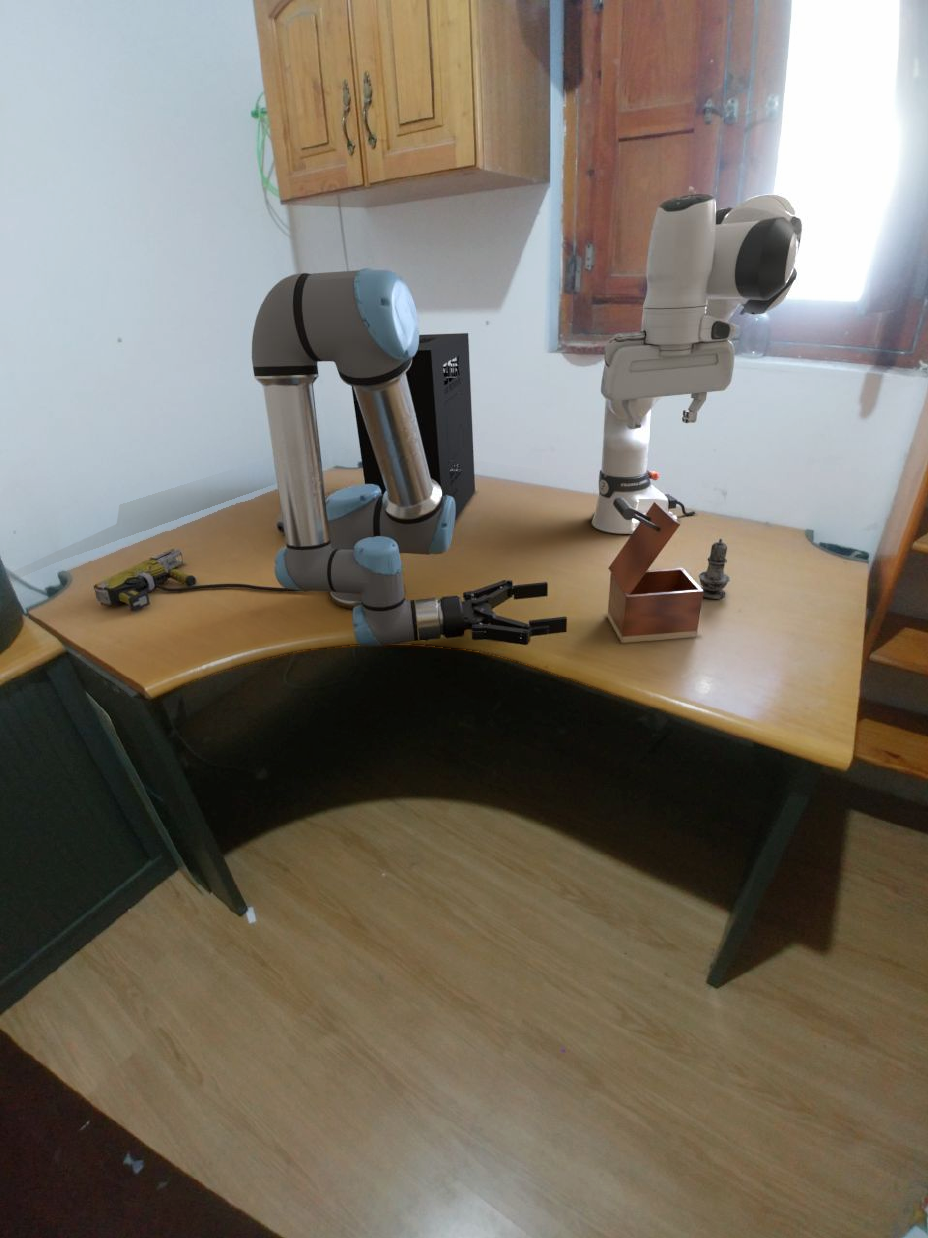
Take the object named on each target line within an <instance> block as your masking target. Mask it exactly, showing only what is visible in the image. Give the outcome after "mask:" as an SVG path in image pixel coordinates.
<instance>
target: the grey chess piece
mask: <svg viewBox="0 0 928 1238" xmlns="http://www.w3.org/2000/svg"><path fill="white" fill-rule="evenodd" d="M727 551H728V545H727V543H724V542H723V538H719V539H718V541H716V542H714V543H713V544H712V545H711V549H710V555H709V556H708V557H707V561H708V564H707V569H706V571H702V572H700V573H699V574H698V578H699V583H700V585H701V586H700V587H701V588H702V590H703V591H704V594H703V598H706V599H711V600H717V599H722V598H724V597H725V596H726V591H724V589H725V588H726V586H727V585H728V583H729V582H730V580H731V578H730V576H729V575H728V574H726V573H725V565H726V564H727V562H728V559H726V557H727Z"/></svg>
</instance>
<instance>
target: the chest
mask: <svg viewBox="0 0 928 1238" xmlns="http://www.w3.org/2000/svg"><path fill="white" fill-rule="evenodd" d="M701 587H702V586H700V585H699V584H698V583H697V582H696V580H695V579H693V577H692V576H691V575H690V573H688V571H687V570H685V568H684V567H676V568H675V567H674V568H663V569H661V568H660V569H648V570H647V571H646V573H645V574H644V576H643V577H642V578H641V580H640V581H639V582H638V584H637V585H636V587H635V588H634V589H633V591H632V592H631V593H630V595H629V594H627V593H625V592H623V590H622V589H621V587H620V586H619V584H618V582H617V581H616V579H615V578H614V576H613V575H612V573H611V572H610V580H609V591H608V602H607V613H606V617H607V619H608V621H609V622H610V624H611V626H612V628H613V630H614V632H615V634H616V635H617V637H618V639H619V641H620V642H621V644H624V643H625V644H627V643H637V642H649V641H651V642H652V641H664V640H676V639H689V638H697V636H698V629H699V623H700V618H701V611H702V607H703V606H702V604H703V599H704V597H703V594H704V591H703V590H702V588H701Z"/></svg>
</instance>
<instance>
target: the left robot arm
mask: <svg viewBox="0 0 928 1238" xmlns="http://www.w3.org/2000/svg"><path fill="white" fill-rule="evenodd" d="M418 324H419V318H418V313H417V308H416V305H415V301H414V298H413V296H412V293H411V290H410V289H409V287H408V285H407V283H406V282H405V281H404V279H403V278H402V277H401V276H400V275H398V274H397V273H396V272H395V271H392V270H389V269H372V268H368V267H367V268H365V267H364V268H361V269H357V270H343V271H329V272H313V273H308V272H302V273H300V272H299V273H294V274H291V275H288V276H286V277H284V278H282V279H281V280H279V281H278V282H277V283H276V284H274V286H272V288H271V289H270V290H269V291H268V293H267V294H266V295H265V297H264V299H263V300H262V302H261V304H260V306H259V310H258V312H257V314H256V318H255V321H254V326H253V330H252V338H251V363H252V370H253V371H252V372H253V376H254V379H255V380H256V381H257V382H258V383H259V384H260V385H261V386H262V391H263V397H264V404H265V409H266V411H265V412H266V418H267V424H268V430H269V431H268V432H269V438H270V444H271V451H272V458H273V463H274V470H275V477H276V483H277V490H278V491H277V492H278V497H279V504H280V510H281V511H280V512H281V514H282V518H283V525H284V532H285V534H284V538H285V545H286V546H284V547H282V548H281V549H279V550H278V552H277V553H276V556H275V559H274V563H275V566H274V567H273V568H274V571H273V572H274V576H275V578H276V581H277V583H278V584H279V585H280V586H281V587H275V586H273V587H272V586H260V585H253V584H245V583H215V584H199V585H193V586H185V587H166V586H164V585H161V584H154V585H155V587H154V589H160V590H161V591H164V592H170V593H172V592H173V593H176V592H177V593H179V592H186V591H187V592H188V591H194V590H204V589H205V590H206V589H218V588H245V589H251V590H257V591H258V590H259V591H267V592H268V591H271V592H323V593H324V592H325V593H326V592H327V593H328V592H329V594H330V599H331V601H332V602H333V604H334V605H337V606H339V607H342V608H346V609H351V610H352V625H353V632H354V638H355V641H356V643H357V644H358V645H359V646H361V647H378V646H379V647H384V646H388V645H396V644H404V643H412V642H421V641H422V642H423V641H426V642H428V641H432V640H440V639H441V638H442V636H443V637H444V638H446V639H452V638H453V639H454V638H462V637H464V636H465V632H466V631H468V630H469V631H471V639H472V640H474V641H492V642H500V643H506V644H507V643H508V644H514V645H519V646H520V645H521V646H528V645H529V643H530V642H531V637H537V636H545V635H546V636H547V635H551V634H560V633H561V634H563V633H567V631H568V630H567V629H568V618H567V616H557V617H548V618H540V619H539V618H538V619H530V620H528V623H526V622H523V621H519V620H516V619H513V618H508V617H506V616H505V617H504V616H501V615H498V614H497V613H496V612H495V611H494V609H495V608H496V607H498V606H500V605H502V604H503V603H505V602H506V601H508V600H510V599H512V598H513V600H514V601H516V600H523V599H524V600H525V599H534V598H543V597H548V595H549V594H548V593H549V583H548V582H547V581H542V582H541V581H540V582H533V583H521V584H515V585H514V583H513V582H514V581H513V580H510V579H509V580H508V579H507V580H506V579H502V580H500V581H497V582H494V583H491V584H489V585H486V586H483V587H480V588H477V589H475V590H469V591H464V592H463V593H462V598H461V595H457V594H456V595H447V596H442V597H440V599H438V598H437V597H427V598H420V599H419V598H417V599H409V600H406V595H405V585H404V584H405V583H404V574H403V562H402V559H401V555H400V554H408V555H409V554H411V555H425V556H430V555H443V554H445V553H447V552H448V550H450V547H451V543H452V540H453V536H454V530H455V523H456V521H455V500H454V498H453V497H451V496H448V495H446V496H443V495H442V490H441V487H440V486H439V484H438V483H437V482H436V481H435V480H433V479H431V478H430V474H429V470H428V465H427V461H426V457H425V453H424V448H423V444H422V440H421V436H420V432H419V427H418V423H417V419H416V415H415V410H414V406H413V402H412V398H411V394H410V389H409V385H408V381H407V377H406V372H407V370H408V369H409V368H410V366H411V363H412V357H413V356H414V355H415V354H416V352H417V349H418V344H419V335H420V329H419V328H418ZM318 362H319V363H320V362H333V363H334V364H335V366H336V367H335V368H337V369H336V370H337V372H338V375H339V378H340V380H341V381H342V382H343V383H345V384H346V385H348V386H350V387H352V386H353V387H354V390H355V394H356V397H357V400H358V403H359V406H360V409H361V412H362V415H363V419H364V422H365V425H366V428H367V431H368V434H369V437H370V441H371V444H372V447H373V450H374V453H375V456H376V459H377V462H378V466H379V469H380V472H381V475H382V478H383V481H384V484H385V487H386V491H385V493H384V495H383V494H381V490H380V488H379V486H378V485H374V484H365V483H363V484H357V485H351V486H348V487H344V488H341V489H339V490H336V491H335V492H332V493H331V494H329V495H328V496H327V498H326V491H325V482H324V481H325V480H324V471H323V464H322V463H323V461H322V453H321V446H320V435H319V426H318V418H317V408H316V398H315V391H314V383H315V382H316V381H317V379H318V378H319V366H318Z"/></svg>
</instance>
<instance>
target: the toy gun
mask: <svg viewBox="0 0 928 1238" xmlns="http://www.w3.org/2000/svg"><path fill="white" fill-rule="evenodd" d="M179 557H181V560H177V558H179ZM183 564H184V558H183V552H182V551H181V550H179V549H174V548H171V549H169V550H167V551H164V552H163V553H161V554H159V555H156V556H155V557H150V558H148V559H146V560H144V561H142V562H139V563H138V564H135V565H133V566H131V567H129V568H127V569H125V570H122V571H120V572H118V573H116V574H113V575H112V576H110V577H108V578H106V579H104V580H101V581H99V582H97V583H95V584H93V590H94V594H95V598H96V600H97V603H99V604H100V605H101V606H105V607H107V606H117V605H121V604H127V605H128V606H129V607H130V611H131V612H136V611H138V610H141V609H143V608H145V607H147V606H148V607H149V606H150V599H149V595H148V593H149V592H151V591H154V590H155V588H154V587H155V585H154V584H158V585H160V584H161V583H164V582H165V581H168V579H171V580H174V581H177V582H178V583H182V584H183V585H184V584H185V585H186V586H187V587H192V586H196V584H197V578H196V576H194V575H192V574H188V573H186V572H184V571H180V570H179V569H176V568H177V567H180V565H183Z"/></svg>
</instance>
